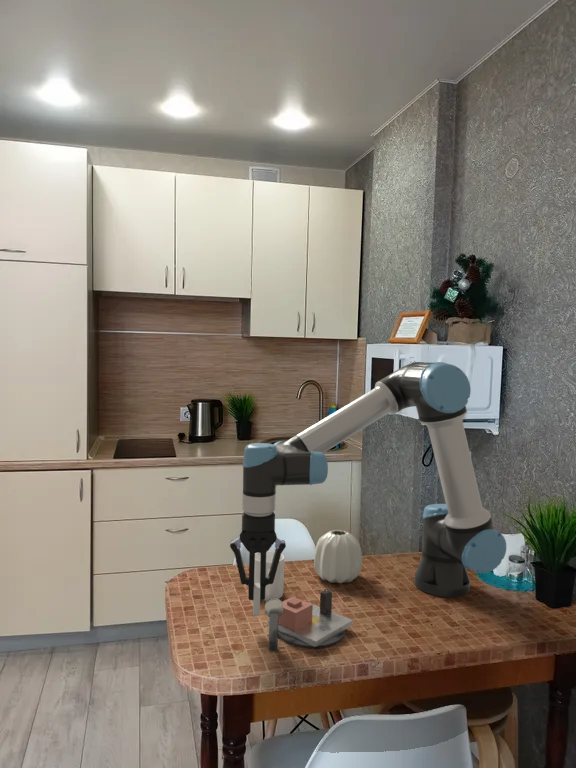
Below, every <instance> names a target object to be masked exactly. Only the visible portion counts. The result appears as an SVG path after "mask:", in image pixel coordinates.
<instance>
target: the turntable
mask: <svg viewBox="0 0 576 768" xmlns="http://www.w3.org/2000/svg"><path fill="white" fill-rule="evenodd" d="M319 596H320V597H319V598H320V599H319V606H318V605H316V604H314V603H311V602H308V601H306V602H307V603H310V604H312V605H313V611H312V622H310V623H309V624H307V625H305V626H303V627H301V628H299V629H297V630H296V631H295V630H293V629H291V628H288V627H286V626H284V625H282V624H279V623H278V630H279V631H281V632H283V633H285V634H288V635H290V636H292V637H294V638H296V639H299V640H301V641H303V642H305V643H308V644H310V645H312V646H314V647H317V646H318V645H320V644H322V643H323V642H325V641H327V640H328V639H330V638H332V637H333V636H335V635H337V634H338V633H340V632H342V631H343V630H345V631H346V630H347V629H348V628H350V627H352V626H353V625H354V624H353V623H354V620H353V618H352V619H351V618H349V617H347V616H344V615H341V614H339V613H337V612H334V611H332V610H333V609H332V606H333V605H332V604H333V591H332V590H330V589H327V588H326V589H324V590H322V591H321V592H320V595H319ZM267 626H268V627H269V619H268V620H267Z"/></svg>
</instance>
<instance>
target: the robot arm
mask: <svg viewBox="0 0 576 768" xmlns="http://www.w3.org/2000/svg"><path fill="white" fill-rule="evenodd" d="M470 396H471V384H470V380H469V378H468V376H467V375H466V373H465V372H464V371H463V370H462V369H461V368H459V367H458V366H456V365H454V364H451V363H450V364H449V363H446V362H442V361H440V362H439V361H438V362H421V361H417V362H411V363H408V364H406V365H403V366H402V367H400V368H398V369H396V370H395V371H393V372H392V373H390V374H389V375H387V376H385V377H384V378H381V379H379V380H378V381H377V382H375V385H374V387H373V388H372V389H371V390H369V391H367V392H366V393H365V394H363V395H361V396H359V397H357V398H355V399H354V400H352V401H351V402H349V403H348V404H346V405H344V406H343V407H341V408H339V409H338V410H336V411H334V412H333V413H331V414H329V415H328V416H326V417H324V418H323V419H321V420H319V421H318V422H316V423H315V424H313V425H311V426H310V427H307V428H306V429H304V430H303V431H301V432H300V433H298V434H295V436H293V437H291V438H289V439H288V440H280V441H276V442H275V443H273V444H272V443H266V442H265V443H263V442H254V443H249V444H247V445H245V447H244V450H243V460H242V461H243V462H242V500H241V501H242V504H241V507H242V509H241V510H242V511H243V512H242V513H241V531H240V533H239V537H237V538H236V539H232V540H231V541H230V543H229V547H230V549H231V550H232V552H233V554H234V557H235V558H234V559H235V561H236V566H237V570H238V575H239V579H240V583H241V585H245V586H247V587H248V594H247V595H248V600H249V601H252V614H253V615H252V616H253V617H260V616H261V601H263V600H264V599H265V587H266V585H268V584H273V582H274V578H275V574H276V571H277V567H278V563H279V560H280V556H281V554H282V553H283V552H284V550H285V549H286V547H287V546H286V541H285V540H283V539H280V538H279V537H278V536H277V533H276V514H275V511H276V499H277V498H276V495H277V491H276V490H277V486H296V485H297V486H300V485H301V486H304V485H306V486H307V485H309V486H312V485H318V484H323V483H325V482H326V480H327V478H328V472H329V464H328V459H327V456H326V454H325V453H326V452H327V451H330V450H331V449H332V448H334V447H335V446H337V445H339V444H340V443H342V442H345V440H347V439H349V438H350V437H352V436H353V435H355V434H356V433H357V434H358V433H359V432H360V431H362V430H364V429H365V428H367V427H369V426H370V425H372V424H373V423H375V422H377V421H378V420H380V419H382V418H383V417H385V416H386V415H388V414H390V413H391V414H397V413H399V412H400V411H402V410H404V409H407V408H410V407H413V408H414V407H416V412H417V415H418V420H419V422H420V423H421V424H423V425H424V426H426V427H427V430H428V436H429V439H430V443H431V444H430V445H431V447H432V451H433V455H434V459H435V465H436V468H437V472H438V477H439V479H440V485H441V489H442V492H443V497H444V500H445V503H434V504H433V503H432V504H428V505H426V506H424V507H423V508H424V509H423V514H422V535H421V536H422V539H421V541H422V542H421V557H420V561H419V563H418V564H417V568H416V571H415V573H414V578H413V580H414V582H413V584H414V585H415V587H416V588H417V589H418V590H420V591H421V592H424V593H426V594H429V595H433V596H436V597H443V598H459V597H464V596H467V595H468V594H469V593H470V591H471V579H470V576H469V573H468V571H469V570H470V571H472V572H474V573H477V574H487V573H490V572H492V571H494V570H496V569H497V568H498V567H499V566H500V564H501V563H502V560H504V558H505V556H506V554H507V541H506V539H505V536H504V535H503V534H502V533H501V532H500V531H499V530H497V529H495V526H494V523H493V518H492V516H491V515H492V514H491V512H490V511H489V510H487V509H486V508H484V507H483V503H482V499H481V495H480V494H481V493H480V490H479V487H478V481H477V477H476V473H475V469H474V464H473V460H472V457H471V451H470V448H469V443H468V440H467V435H466V431H465V426H464V420H463V418H464V417H465V415H466V414H467V412H468V411H467V407H466V405H467V404H468V402H469V400H468V399H469V398H470ZM242 545H243V547H244V548H245V550H247V552H249V553H248V554H249V556H248V557H249V559H248V576H247V574H246V571H245V565H244V562H243V561H244V560H243V557H242V553H241V548H242ZM273 545H274V547H275V549H274V552H275V553H274V556H273V560H272V564H271V567H270V571H269V575H268V577H266V552H269V551H270V549H271V548H272V547H273ZM257 553H261V556H260V583H254V569H255V554H257Z"/></svg>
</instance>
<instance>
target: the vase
mask: <svg viewBox="0 0 576 768" xmlns="http://www.w3.org/2000/svg"><path fill="white" fill-rule="evenodd" d="M315 545H316V546H315V551H314V555H313V556H314V558H313V559H314V560H313V562H314V567H313V568H314V572H315V573H316V574H317V575H318V577H319V578H320V579H321V580H323V581H328V582H329V583H332V584H333V583H337V584H343V583H351V582H352V581H354V580H355V579H356V578H357V577H358V576H359V574H360V573H361V572H362V569H363V554H362V548H361V544H360V542H359V541H358V540H357V538H356V537H354V535H352V534H351V533H350V532H349V531H346V530H342V529H333V530H330V531H328V532H326V533H324V534H323V535H322V536H320V537H319V539H318V540H317V542H316V544H315Z"/></svg>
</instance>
